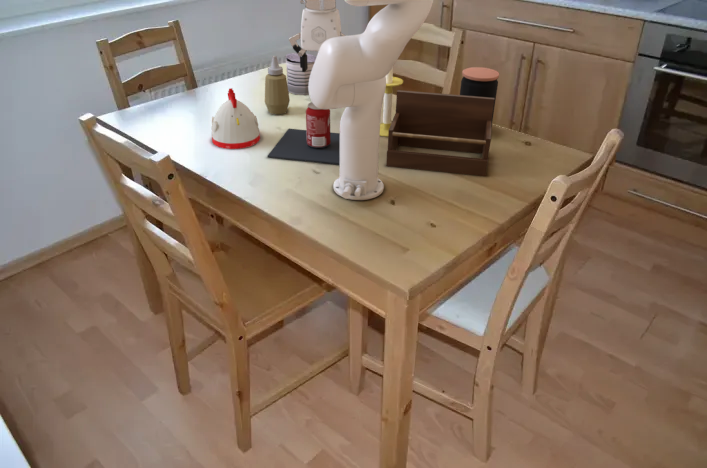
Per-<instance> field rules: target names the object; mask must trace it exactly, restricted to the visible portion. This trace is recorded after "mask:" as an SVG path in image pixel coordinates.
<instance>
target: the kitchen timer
mask: <svg viewBox="0 0 707 468" xmlns="http://www.w3.org/2000/svg"><path fill="white" fill-rule="evenodd" d="M227 98H228V100H226V101H225V102H223V103H222V104H221V105H220V106H219V108H218V109H217V110H216V112H215V115H214V116H212V117H211V125H210V126H211V127H210V128H211V141H212V144H213V145H214V146H215V147H218V148H222V149H226V150H227V149H228V150H241V149H246V148H250V147H252V146H254V145H256V144H258V143H259V142H260V140H261V133H260V127H259V122H258V119H257V115H255V114H254V112H253V111H252V110H251V109H250V107H248V106H247V105H246V103H244V102H242V101H240V100H238V99H237V98H236V92H234V90H233V87H232V88H228V90H227Z"/></svg>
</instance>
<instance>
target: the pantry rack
mask: <svg viewBox="0 0 707 468" xmlns="http://www.w3.org/2000/svg"><path fill="white" fill-rule="evenodd" d="M493 106H494V98H489V97H476V96H464V95H460V94H450V93H437V92H423V91H412V90H402V89H401V90H400V89H397V90H396V100H395V113H394V114H393V115H394V116H393V118H392V119H391V125H390V128H389V133H388V137H387V150H386V165H385V167H391V168H401V169H411V170H421V171H429V172H439V173H448V174H449V173H450V174H459V175H460V174H461V175H469V176H480V177H486V176H487V170H488V162H489V154H490V148H491V142H492V127H491V119H492V112H493ZM398 147H408V148H409V147H411V148H421V149H432V150H441V151H442V150H443V151H452V152H453V151H454V152H463V153H464V152H465V153H473V154H481V158H479V157H469V156H460V155H459V156H458V155H450V154H440V153H439V154H438V153H427V152H418V151H407V150H397V149H398Z"/></svg>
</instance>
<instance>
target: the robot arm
mask: <svg viewBox="0 0 707 468" xmlns="http://www.w3.org/2000/svg"><path fill="white" fill-rule="evenodd" d="M343 1H344V2H345V3H346V4H348V5H349V6H351V7H352V6H353V7H370V6H384V7H383V8H381V9H380V10H379V11H377V12H376V13H375V14H374V15H373V16H372V18H371V19H370V20H369V22H368V23H367V26H366V27H365V30H364V31H363V32H362V33H357V34H351V35H346V34H344V33H342V23H341V16H340V15H341V14H340V11H339V9H338V8H337V0H299V2H300V4H301V5H302V4H303V5H304V8H303V9H302V14H301V21H300V22H301V23H300V32H298V33H297V34H294V35H292V36H290V37H289V38H288V42H289V43H290V45H291V46H292V50H293V51H294V52H295V53H297V54H298V56H299V57H300V68H302V72H305V71H306V70H307V69H308V64H307V54H308V53H306V52H317V54H316V60H315V63H314V65H313V68H312V71H311V74H310V78H309V85H308V91H309V94H308V96H309V98H310V101H311V102H312V103H313V104H314V105H315V106H316V107H317V108H319V109H330V110H335V109H343V108H344V110H343V112H342V114H341V116H340V117H341V118H340V121H339V133H340V165H339V177H337V178H336V179H335V180H334V182H333V185H332V186H333V191H334V193H336V195H338V196H339V197H342V198H343V199H345V200H347V199H348V200H353V201H366V200H372V199H375V198H377V197H378V196H379V197H380V195H381V194H382V193H383V192H384V189H385V184H384V182H383V181H382V179H380V178H379V158H380V136H379V135H380V123H381V115H382V109H383V103H384V94H385V89H386V75H387V74H388V73H389V72H390V71H391V69H392V68H393V69H394V67H395V64H396V63H397V61H398V59H399V58H400V56H401V55H402V53H403V52H404V50H405V47H406V46H407V45H408V43H409V42H410V41H411V39H412V37H414V36H415V34H417V32H418V31H419V30H420V28H421V27H422V25H423V24H424V23H425V21H426V20H427V18H428V16H429V14H430V12H431V9H432V7H433V3H434V0H343ZM385 5H386V6H385ZM298 40H300V45H299V44H298V42H297V41H298Z"/></svg>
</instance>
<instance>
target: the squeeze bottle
mask: <svg viewBox="0 0 707 468" xmlns="http://www.w3.org/2000/svg"><path fill="white" fill-rule="evenodd" d="M264 80H265V81H264V82H265V83H264V103H265V104H264V105H265V106H266V109H267V111H268V113H269V114H270V115H284V114H286V113H287V112H288V108H289V105H290V100H291V99H290V92H289V91H288V86H287V74H285V73H284V68H283V66H280V64H279V61H278V57H277V55H273V56H272V59H271V66H268V67H267V74H266V75H265V79H264Z"/></svg>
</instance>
